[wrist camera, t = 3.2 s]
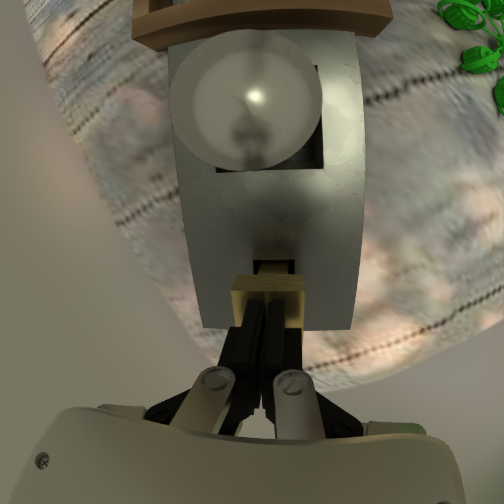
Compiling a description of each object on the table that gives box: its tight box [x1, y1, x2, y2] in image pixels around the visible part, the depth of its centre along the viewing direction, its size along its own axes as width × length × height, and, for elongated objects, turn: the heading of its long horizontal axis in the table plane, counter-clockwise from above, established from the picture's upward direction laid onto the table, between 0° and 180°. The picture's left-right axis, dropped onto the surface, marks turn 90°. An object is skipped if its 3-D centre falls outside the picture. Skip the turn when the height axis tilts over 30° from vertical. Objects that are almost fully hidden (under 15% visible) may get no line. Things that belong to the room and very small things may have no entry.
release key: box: [231, 260, 305, 342], centre depth 15 cm, size 3×3×6 cm
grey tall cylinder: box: [169, 29, 323, 171], centre depth 11 cm, size 4×4×12 cm
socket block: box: [168, 29, 365, 331], centre depth 16 cm, size 18×10×5 cm, turn 4°
